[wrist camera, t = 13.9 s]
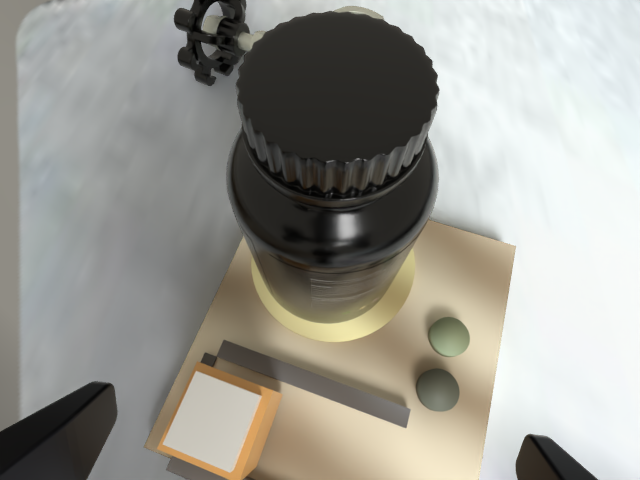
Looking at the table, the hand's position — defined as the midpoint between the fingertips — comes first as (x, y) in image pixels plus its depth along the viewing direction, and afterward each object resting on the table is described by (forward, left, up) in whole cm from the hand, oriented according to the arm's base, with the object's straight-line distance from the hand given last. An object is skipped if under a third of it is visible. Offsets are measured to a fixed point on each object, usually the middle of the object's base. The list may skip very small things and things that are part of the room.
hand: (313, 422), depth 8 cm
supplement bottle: (+7, +2, -10) cm, 12 cm away
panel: (+4, 0, -11) cm, 12 cm away
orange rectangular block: (-1, +3, -9) cm, 10 cm away
